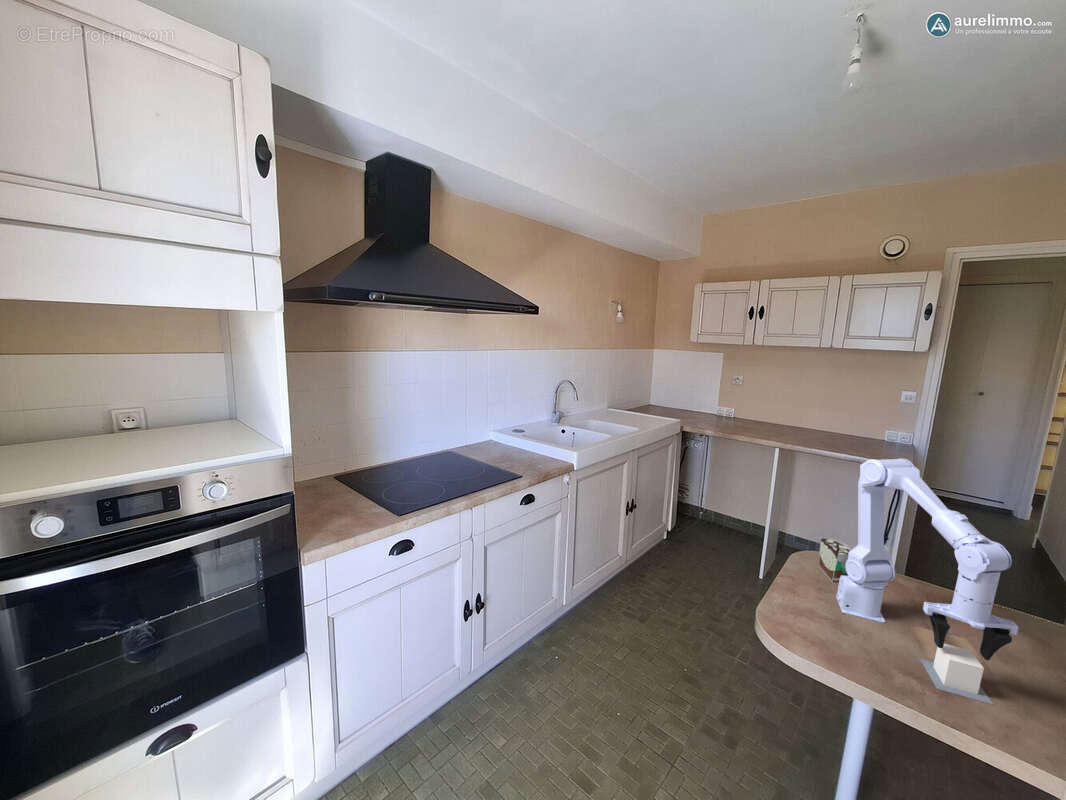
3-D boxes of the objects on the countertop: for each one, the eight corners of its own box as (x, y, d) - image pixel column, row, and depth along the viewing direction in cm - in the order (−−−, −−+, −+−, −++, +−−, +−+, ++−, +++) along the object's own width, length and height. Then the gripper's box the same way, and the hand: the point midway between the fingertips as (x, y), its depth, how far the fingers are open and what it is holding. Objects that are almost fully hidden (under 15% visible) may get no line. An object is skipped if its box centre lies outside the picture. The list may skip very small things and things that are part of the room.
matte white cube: (943, 685, 92) (949, 659, 90) (933, 666, 97) (938, 642, 95) (977, 694, 89) (983, 668, 88) (964, 675, 94) (970, 650, 93)
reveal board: (925, 657, 100) (925, 656, 100) (906, 625, 110) (906, 624, 110) (993, 675, 95) (994, 674, 95) (967, 639, 105) (967, 638, 105)
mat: (936, 689, 91) (937, 688, 91) (920, 659, 99) (920, 658, 99) (992, 705, 87) (993, 704, 87) (970, 673, 95) (971, 672, 95)
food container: (857, 588, 126) (862, 557, 124) (834, 585, 127) (839, 555, 125) (836, 565, 138) (841, 537, 136) (816, 562, 139) (820, 535, 137)
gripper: (937, 597, 88) (925, 652, 91) (1033, 617, 82) (1017, 676, 85) (923, 578, 95) (913, 631, 97) (1011, 596, 89) (998, 652, 91)
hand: (960, 650), depth 92 cm, fingers open, 7 cm apart
